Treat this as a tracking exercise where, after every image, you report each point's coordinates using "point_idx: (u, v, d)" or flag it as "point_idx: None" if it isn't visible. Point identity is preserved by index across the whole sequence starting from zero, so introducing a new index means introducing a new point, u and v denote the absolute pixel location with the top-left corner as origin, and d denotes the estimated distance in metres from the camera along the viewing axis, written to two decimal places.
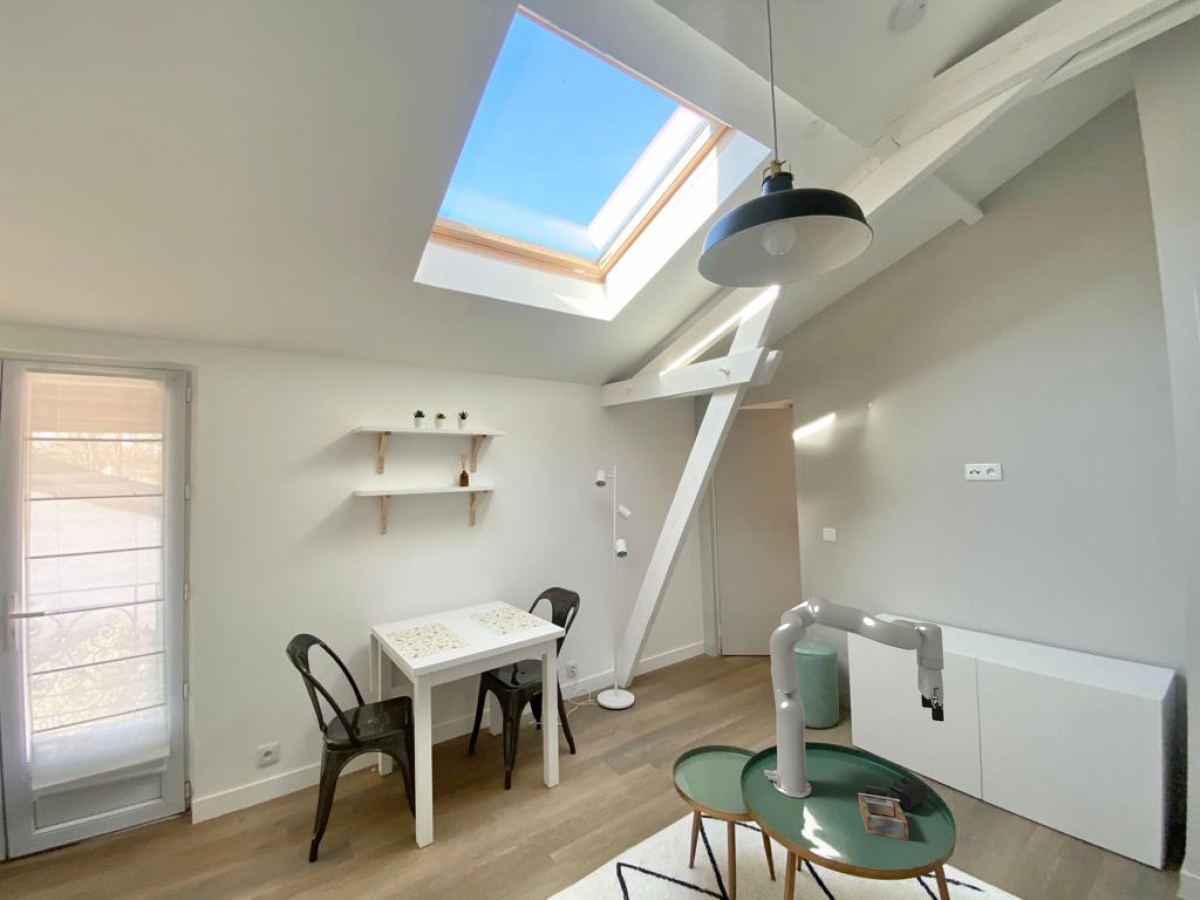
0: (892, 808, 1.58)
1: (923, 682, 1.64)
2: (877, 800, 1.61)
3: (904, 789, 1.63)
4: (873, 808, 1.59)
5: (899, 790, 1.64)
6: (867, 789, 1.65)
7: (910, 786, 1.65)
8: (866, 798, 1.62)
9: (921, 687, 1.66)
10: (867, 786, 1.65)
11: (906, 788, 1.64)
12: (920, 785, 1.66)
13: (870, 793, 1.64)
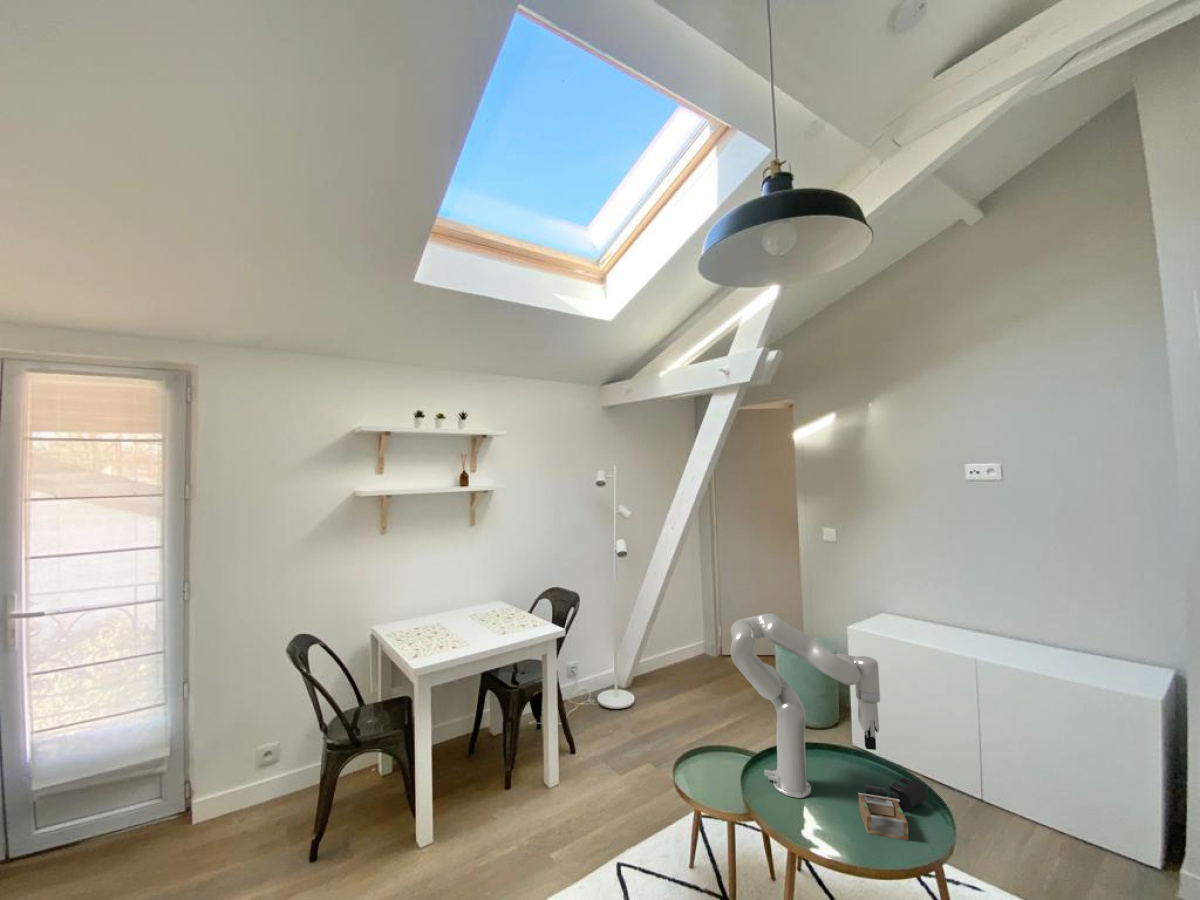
0: (892, 808, 1.58)
1: (861, 714, 1.71)
2: (877, 800, 1.61)
3: (904, 789, 1.63)
4: (873, 808, 1.59)
5: (899, 790, 1.64)
6: (867, 789, 1.65)
7: (910, 786, 1.65)
8: (866, 798, 1.62)
9: (860, 719, 1.73)
10: (867, 786, 1.65)
11: (906, 788, 1.64)
12: (920, 785, 1.66)
13: (870, 793, 1.64)
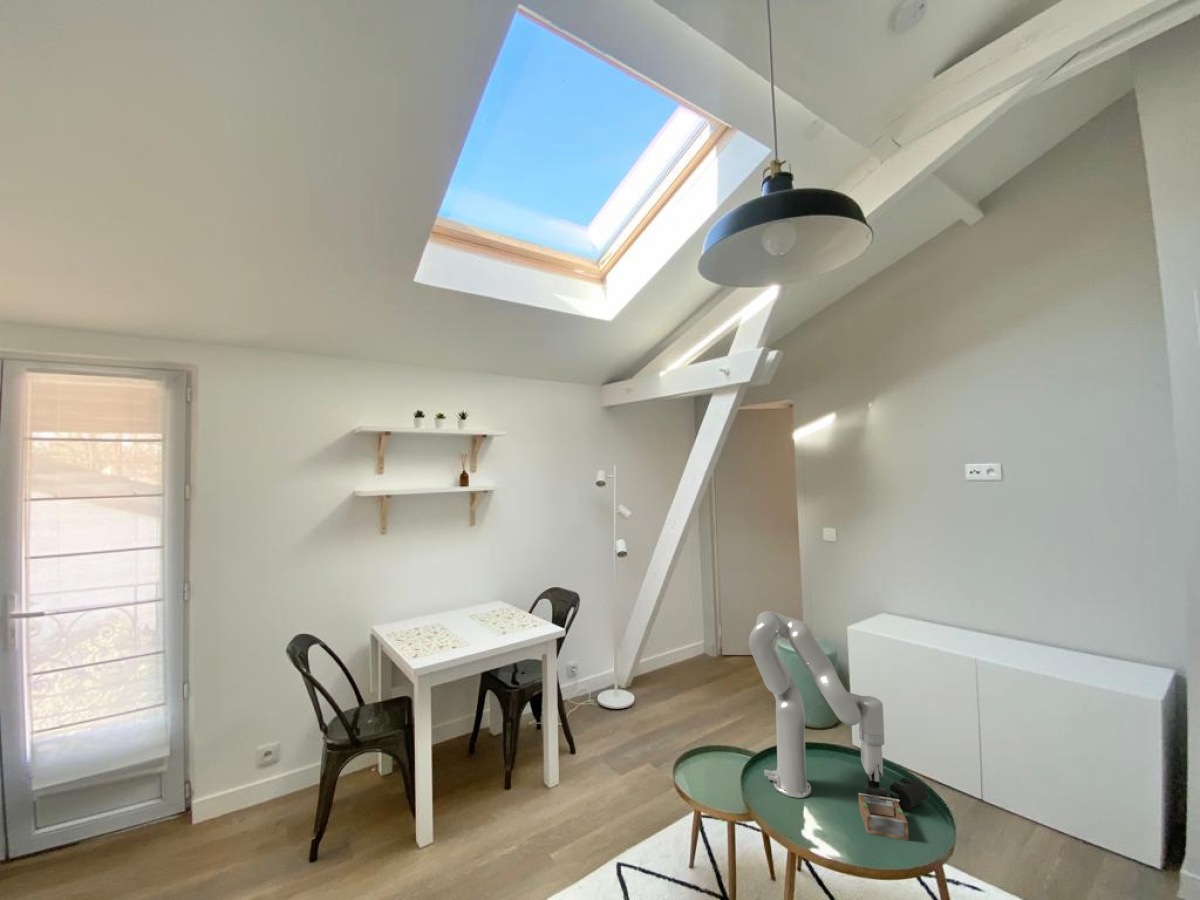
0: (892, 808, 1.58)
1: (864, 757, 1.67)
2: (877, 800, 1.61)
3: (904, 789, 1.63)
4: (873, 808, 1.59)
5: (899, 790, 1.64)
6: (867, 789, 1.64)
7: (910, 786, 1.65)
8: (866, 798, 1.62)
9: (863, 761, 1.68)
10: (867, 786, 1.65)
11: (906, 788, 1.64)
12: (920, 785, 1.66)
13: (870, 793, 1.64)
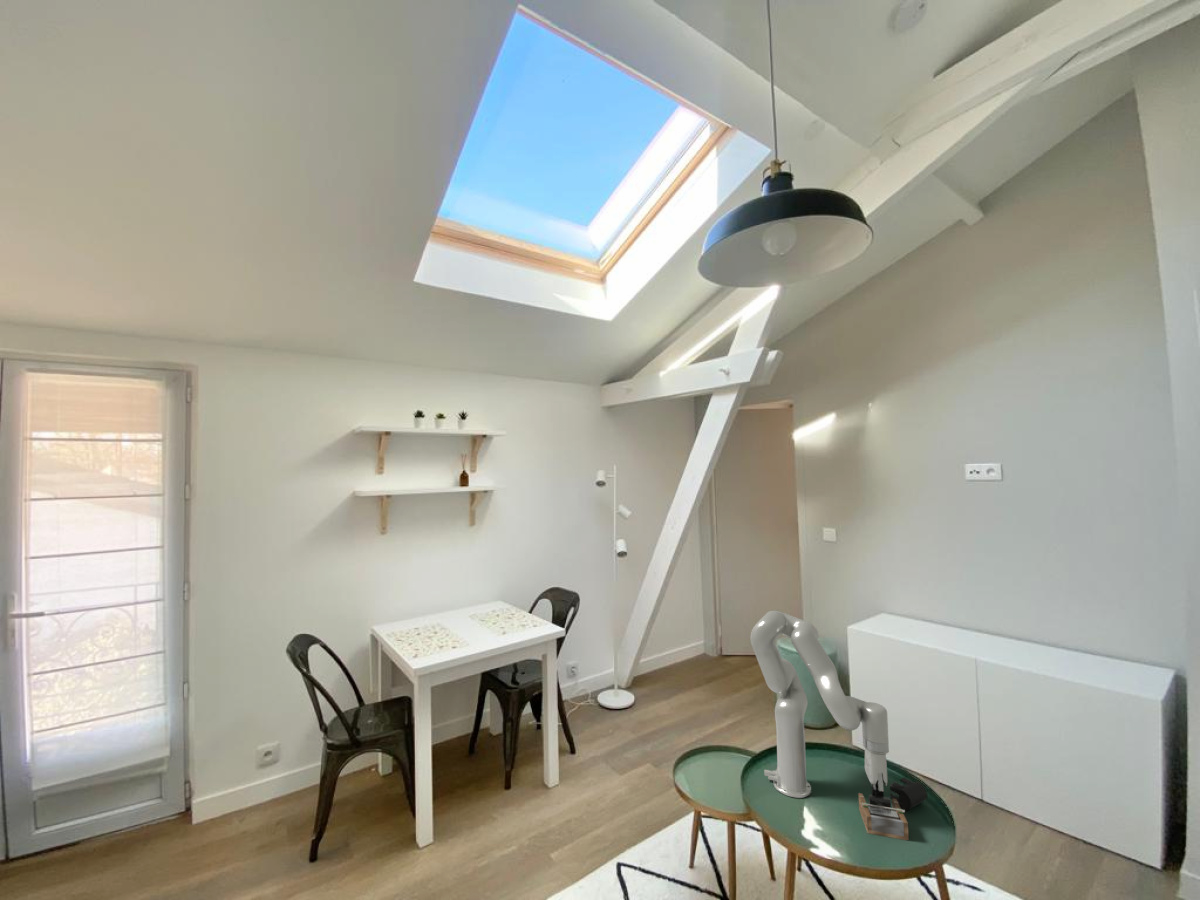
0: (897, 819, 1.53)
1: (868, 765, 1.62)
2: (881, 810, 1.56)
3: (904, 789, 1.63)
4: None
5: (899, 790, 1.64)
6: (871, 799, 1.59)
7: (910, 786, 1.65)
8: (870, 808, 1.57)
9: (867, 769, 1.63)
10: (871, 796, 1.60)
11: (906, 788, 1.64)
12: (920, 785, 1.66)
13: (874, 803, 1.59)
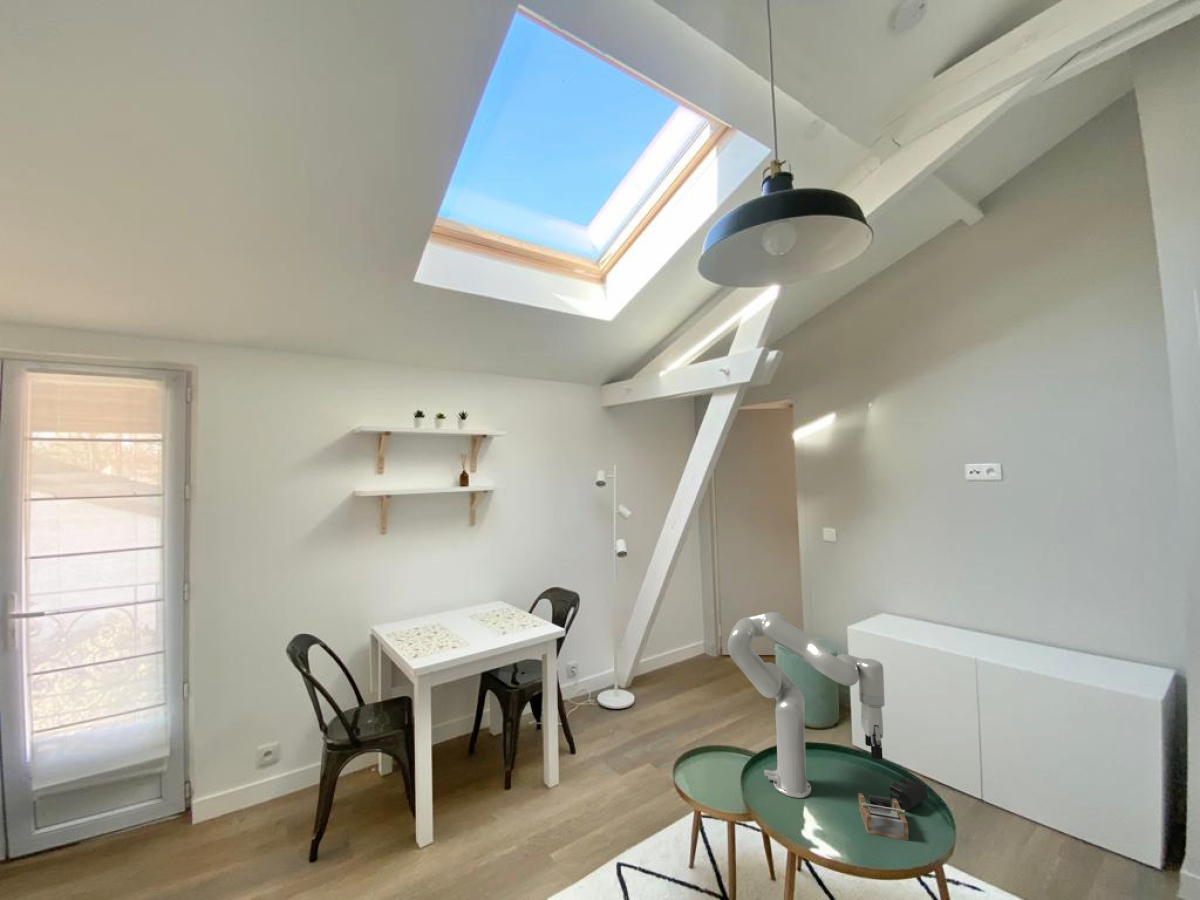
0: (897, 819, 1.53)
1: (864, 719, 1.65)
2: (881, 811, 1.56)
3: (904, 789, 1.63)
4: None
5: (899, 790, 1.64)
6: (871, 799, 1.59)
7: (910, 786, 1.65)
8: (870, 808, 1.57)
9: (863, 723, 1.67)
10: (871, 796, 1.60)
11: (906, 788, 1.64)
12: (920, 785, 1.66)
13: (874, 803, 1.59)
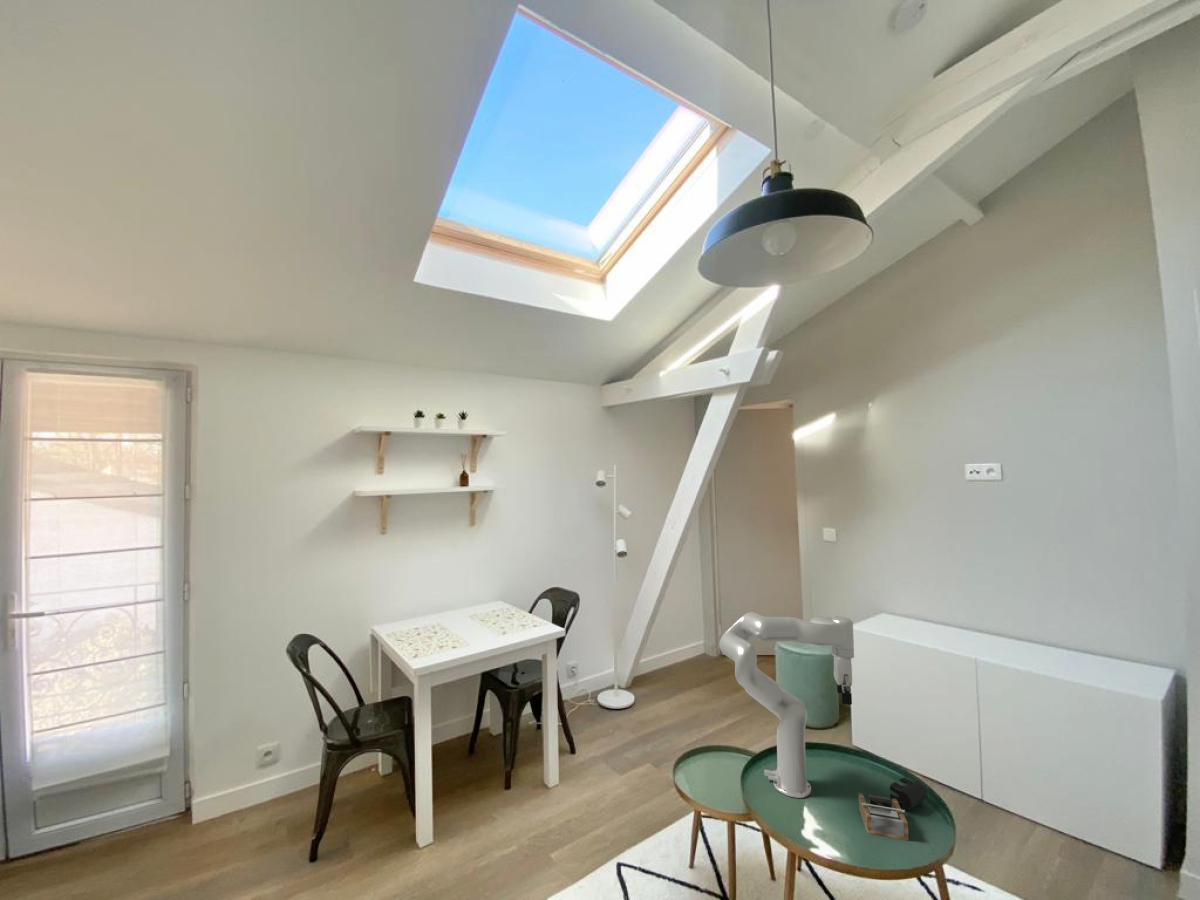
0: (897, 819, 1.53)
1: (836, 670, 1.83)
2: (881, 811, 1.56)
3: (904, 789, 1.63)
4: None
5: (899, 790, 1.64)
6: (871, 799, 1.59)
7: (910, 786, 1.65)
8: (870, 808, 1.57)
9: (835, 674, 1.84)
10: (871, 796, 1.60)
11: (906, 788, 1.64)
12: (920, 785, 1.66)
13: (874, 803, 1.59)
